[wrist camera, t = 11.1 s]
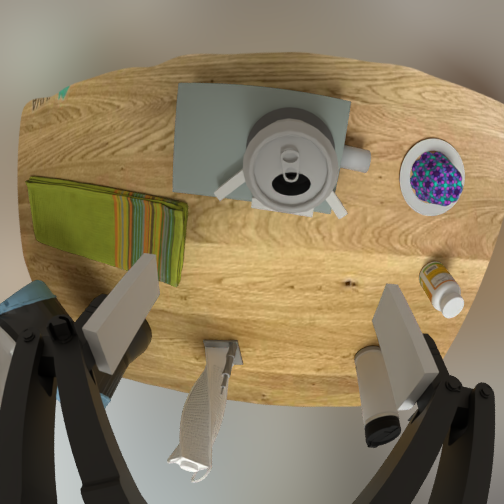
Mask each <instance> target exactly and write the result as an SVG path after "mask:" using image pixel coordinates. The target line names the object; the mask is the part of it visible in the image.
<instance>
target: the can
mask: <svg viewBox="0 0 504 504" xmlns="http://www.w3.org/2000/svg"><path fill="white" fill-rule="evenodd" d="M338 171H339V166H338V159H337V154H336V152H335V150H334V148H333V146H332V144H331V142H330V140H329V139H328V138H327V137H326V136H324V135H323V134H322V133H321V132H320V131H319V130H318V129H316V128H315V127H313V126H311V125H310V124H307V123H305V122H303V121H301V120H297V119H290V118H288V119H282V120H278V121H276V122H274V123H272V124H270V125H268V126H267V127H265V128H264V129H262V130H260V131H259V132H258V133H257V134H256V136H255V137H254V138H253V139H252V140H251V141H250V142H249V145H248V147H247V149H246V151H245V154H244V158H243V174H244V178H245V182H246V185H247V187H248V188H249V190H250V191H251V193H252V195H253V196H254V197H255V198H256V199H257V200H258V201H259V202H261V203H262V204H263V205H264V206H266V207H268V208H270V209H272V210H275V211H277V212H282V213H290V214H294V213H301V212H307V211H309V210H311V209H313V208H315V207H317V206H319V205H320V204H321V203H322V202H323V201H324V200H325V199H326V198H327V197H329V196H330V194H331V192H332V190H333V188H334V186H335V185H336V183H337V177H338Z"/></svg>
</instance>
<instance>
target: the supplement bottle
mask: <svg viewBox="0 0 504 504" xmlns="http://www.w3.org/2000/svg"><path fill="white" fill-rule="evenodd" d="M419 281H420V284H421V286H422V288H423V289H424V291H425V293H426V294H427V296H428V298H429V299H430V301H431V303H432V305H433V306H434V308H435V309H436V310H438V311H441V312H442V314H443V316H444V317H446V318H452V317H454V316H456V315H457V314H459V313H460V311H461V310H462V308H463V306H464V300H463V298H462V297H461V295H460V294H461V290H460V287H459V285H458V284H457V282H456V281H455V280H454V278H453V277H452V276H451V275H450V273H449V272H448V271H447V269H446V268H445V267H444V266H443V264H441V263H440V262H436V261H435V262H431V263H428V264H427V265H426V266H424V267H423V269H422V270H421V272H420V275H419Z"/></svg>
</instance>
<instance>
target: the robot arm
mask: <svg viewBox="0 0 504 504" xmlns="http://www.w3.org/2000/svg"><path fill="white" fill-rule="evenodd" d="M159 295H160V291H159V282H158V272H157V262H156V255H154V254H147V253H144V254H143V255H142V256H141V257H140V258H139V259H138V260H137V262H136V263H135V264H134V265H133V266H132V267H131V268H130V270H129V271H128V272H127V273H126V274H125V275H124V277H123V278H122V279H121V280H120V281H119V283H118V284H117V285H116V286H115V287H114V289H113V290H112V291H111V292H110V293H109V295H105V294H101V295H100V296H98V297H96V298H95V299H94V300H93V301H92V302H91V303H90V305H89V306H88V307H87V308H86V309H85V312H83V313H82V314H81V315H80V317H79V318H78V319H77V320H76V322H74V321H73V320H72V318H71V317H70V316H69V314H68V313H67V312H66V310H65V309H64V308H63V306H62V305H61V304H60V302H59V301H58V300H57V298H56V295H53V293H52V292H51V291H50V289H49V288H48V287H47V285H46V284H45V283H44V282H43V281H41V280H35V281H33V282H31V283H29V284H28V285H26V286H25V287H23V288H22V289H20V290H19V291H17V292H16V293H14V294H13V295H12V296H10V297H9V298H8V299H6V300H5V301H3V302H2V303H1V304H0V504H57V494H56V482H55V463H54V428H55V407H56V399H57V400H58V401H59V402H60V403H61V408H62V412H63V417H64V422H65V426H66V430H67V435H68V438H69V442H70V446H71V449H72V453H73V456H74V459H75V463H76V466H77V469H78V472H79V475H80V478H81V480H82V488H81V495H82V498H83V501H84V503H85V504H147V502H146V501H145V500H144V498H143V497H142V495H141V493H140V492H139V490H138V488H137V486H136V484H135V482H134V480H133V478H132V476H131V473H130V472H129V469H128V467H127V465H126V463H125V460H124V458H123V456H122V453H121V451H120V449H119V446H118V444H117V441H116V439H115V436H114V433H113V431H112V428H111V425H110V423H109V420H108V417H107V414H106V411H105V408H106V406H107V405H108V403H109V402H110V401H111V397H112V396H113V393H114V392H115V390H116V388H117V386H118V384H119V382H120V380H121V378H122V376H123V374H124V372H125V370H126V369H127V367H128V365H129V364H130V363H131V362H132V361H133V360H135V359H136V358H137V357H138V356H139V355H140V354H142V353H143V352H144V351H145V350H146V349H147V347H148V345H149V344H150V342H151V337H152V335H151V330H150V327H149V325H148V323H147V321H146V320H145V318H146V316H147V314H148V313H149V311H150V309H151V308H152V306H153V304H154V303H155V301H156V300H157V298H158V296H159ZM372 322H373V325H374V328H375V331H376V335H377V338H378V341H379V344H380V348H381V351H382V355H383V358H384V362H385V365H386V369H387V372H388V376H389V380H390V384H391V387H392V391H393V395H394V399H395V403H396V408H397V410H408V409H411V408H412V407H413V406H414V404H415V403H416V402H417V405H418V409H417V410H416V412H415V413H414V414H413V415H412V416H411V417H410V418H409V420H408V421H410V422H409V424H408V426H407V427H406V429H405V431H404V432H403V434H402V436H401V437H400V439H399V441H398V442H397V444H396V445H395V447H394V448H393V450H392V451H391V453H390V455H389V456H388V457H387V459H386V460H385V462H384V463H383V465H382V466H381V467H380V469H379V470H378V472H377V473H376V474H375V476H374V477H373V478H372V480H371V481H370V482H369V484H368V485H367V486H366V487H365V489H364V490H363V491H362V492H361V494H360V495H359V496H358V497H357V498H356V500H355V501H354V502H353V503H352V504H411V502H412V501H413V499H414V497H415V496H416V494H417V493H418V491H419V489H420V487H421V485H422V484H423V482H424V480H425V479H426V477H427V475H428V473H429V471H430V469H431V467H432V465H433V463H434V461H435V459H436V457H437V455H438V453H439V451H440V449H441V447H442V444H443V447H442V453H441V457H440V462H439V466H438V470H437V474H436V478H435V482H434V485H433V489H432V493H431V496H430V499H429V502H428V504H487V499H488V493H489V488H490V481H491V474H492V464H493V455H494V439H495V398H494V397H495V396H494V392H493V390H492V388H491V387H490V386H489V385H488V384H486V383H482V382H481V383H478V384H477V385H476V387H475V388H474V389H471V388H466V387H463V386H462V384H461V382H460V381H459V380H458V379H457V378H456V377H454V376H451V375H449V373H448V371H447V368H446V366H445V364H444V361H443V359H442V357H441V355H440V352H439V350H438V349H437V346H436V344H435V342H434V340H433V339H432V338H431V337H430V336H429V335H428V334H422V332H421V330H420V328H419V326H418V323H417V321H416V319H415V317H414V315H413V313H412V311H411V309H410V307H409V305H408V303H407V301H406V299H405V297H404V295H403V294H402V292H401V290H400V288H399V286H398V285H396V284H387V283H386V286H385V289H384V291H383V294H382V297H381V299H380V302H379V305H378V307H377V310H376V312H375V315H374V317H373V319H372Z"/></svg>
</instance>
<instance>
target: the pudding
mask: <svg viewBox="0 0 504 504" xmlns="http://www.w3.org/2000/svg"><path fill="white" fill-rule="evenodd" d="M427 151H439V152H435V153H434V154H432V153H430V152H427ZM424 152H425V153H424ZM422 153H423V154H422ZM442 153H443V154H444V155H446V156H447V157H448V159H449V160H450V161H451V162H450V161H449V160H448V159H447V158H446V157H445V156H444V155H443V154H442ZM421 154H422V155H421ZM420 155H421V158H420V160H417V161H415V160H416V159H417V158H418V157H419V156H420ZM414 161H415V162H414ZM413 163H414V164H413ZM412 165H413V166H412ZM411 168H412V172H413V175H412V177H411V178H410V171H411ZM464 180H465V171H464V166H463V162H462V160H461V157H460V156H459V154H458V152H457V151H456V150H455V148H453V147H452V146H451V145H450V144H449V143H447V142H445V141H443V140H440V139H426V140H423V141H421V142H419V143H417V144H416V145H415V146H413V147H412V148H411V149H410V151H409V152H408V153H407V155H406V157H405V158H404V161H403V163H402V166H401V171H400V187H401V191H402V194H403V196H404V199H405V200H406V202H407V203H408V205H409V206H410V207H411V208H412V209H413V210H415V211H416V212H418V213H420V214H422V215H426V216H436V215H440V214H442V213H445V212H446V211H448V210H449V209H450V208H452V207H453V206H454V204H455V203H456V202H457V201H458V199H459V197H460V195H461V193H462V190H463V187H464ZM410 184H411V185H410ZM411 186H412V188H414V189H415V190H416V196H417V197H418V198H419V199H420V200H423V201H427V202H429V203H432V204H427V203H424V202H422V201H420V200H419V199H418V198H417V197H416V196H415V194H414V193H413V191H412V189H411Z"/></svg>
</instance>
